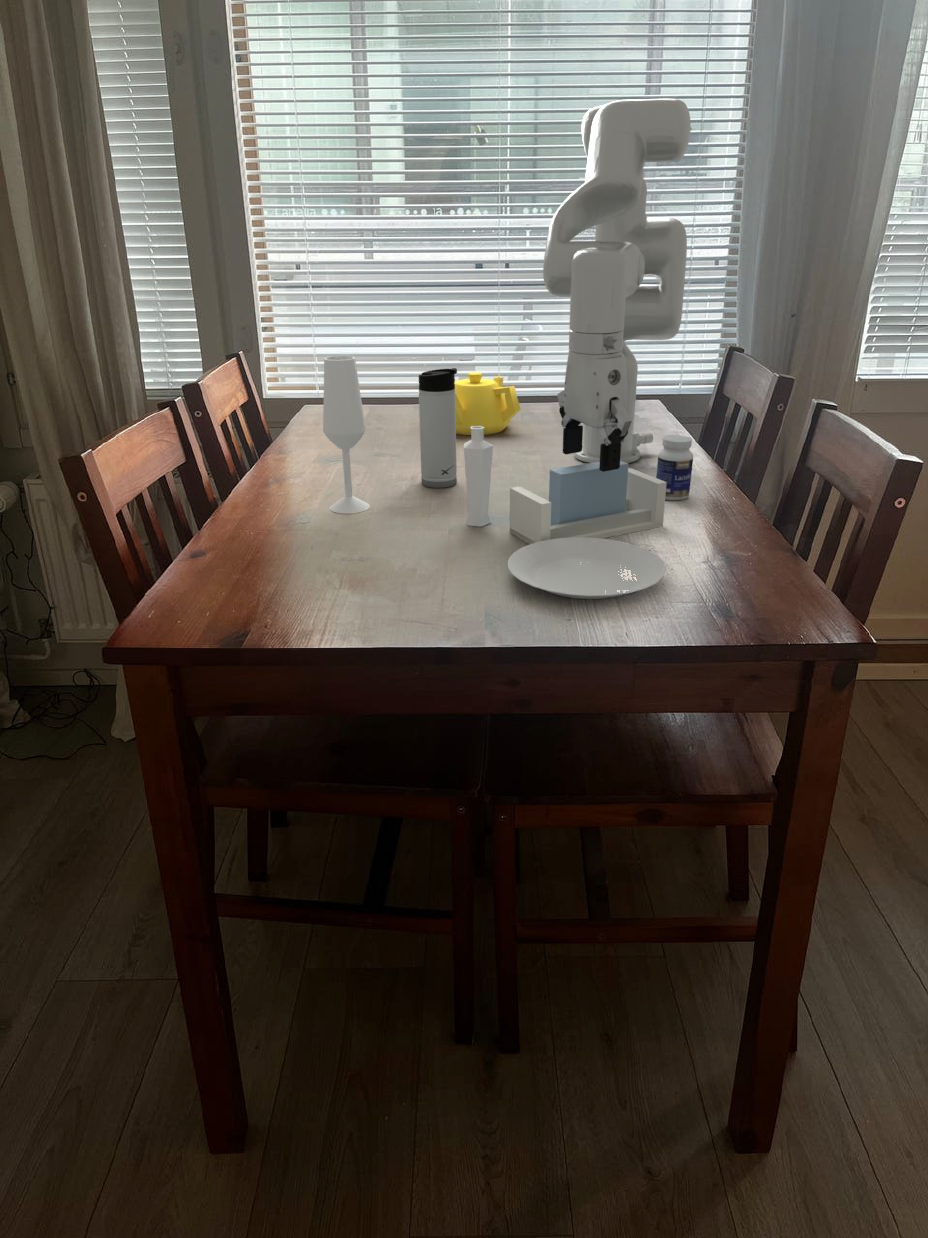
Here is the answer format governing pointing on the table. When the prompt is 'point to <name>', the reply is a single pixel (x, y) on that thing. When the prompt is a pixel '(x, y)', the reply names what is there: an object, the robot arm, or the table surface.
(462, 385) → the teapot
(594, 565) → the plate
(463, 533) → the table surface
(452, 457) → the travel mug
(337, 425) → the champagne flute
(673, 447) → the pill bottle
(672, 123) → the robot arm
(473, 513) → the perfume bottle
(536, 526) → the track frame
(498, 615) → the table surface
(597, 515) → the door panel
